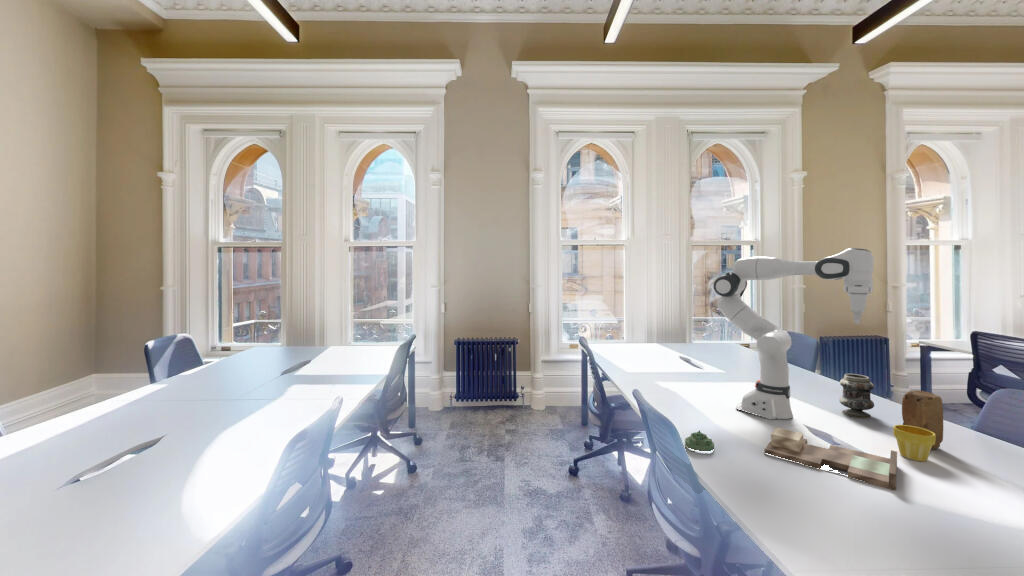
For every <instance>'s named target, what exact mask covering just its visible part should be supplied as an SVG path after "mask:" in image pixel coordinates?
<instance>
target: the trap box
mask: <svg viewBox="0 0 1024 576" xmlns="http://www.w3.org/2000/svg"><path fill="white" fill-rule="evenodd" d="M765 453H768V454H771V455H774V456H778V457H781V458H785V459H788V460H792V461H795V462H799V463H802V464H804V465H803V466H805V465H808V466H812V467H815V468H819V469H820V468H821V466H823V465H824V464H825V465H829V467H830V468H832V469H833V470H838V472H840V473H841V474H845V475H848V477H851V478H850V479H852V478H855V479H858V480H857V481H859V480H862V481H861V482H863V481H865V482H864V483H866V482H867V484H870V483H871V484H870V485H873V484H874V486H876V487H877V486H878V487H881V488H884V487H885V488H884V489H888V490H892V491H896V490H897V473H898V471H897V470H898V451H895V450H890V456H889V457H890V458H889V457H884V456H881V455H877V454H871V453H867V452H863V451H859V450H854V449H852V448H851V449H850V448H846V447H842V446H837V445H834V444H830V446H829V448H826V447H822V446H819V445H813V444H811V443H810V444H809V443H808V439H807V438H804V437H803V445H802V447H801V449H800V451H795V450H791V449H787V448H783V447H779V446H775V445H771V440H770V442H769V443H768V444H767V445H766V447H765V448H764V454H765ZM808 466H807V467H808ZM812 467H811V468H812ZM815 468H814V469H815ZM819 469H818V470H819ZM833 470H829V471H833ZM840 473H838V474H840ZM848 477H847V478H848ZM855 479H854V480H855Z"/></svg>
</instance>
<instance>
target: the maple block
mask: <svg viewBox="0 0 1024 576" xmlns="http://www.w3.org/2000/svg"><path fill="white" fill-rule="evenodd" d="M803 438H804V433H803V432H799V431H795V430H790V429H787V428H786V429H785V428H781V427H775V428H774V430H773V431H772V432H771V433H770V441H771V445H775V446H779V447H783V448H787V449H791V450H795V451H800V449H801V447H802V445H803Z"/></svg>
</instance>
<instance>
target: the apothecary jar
mask: <svg viewBox="0 0 1024 576" xmlns="http://www.w3.org/2000/svg"><path fill="white" fill-rule="evenodd" d="M839 384H840V386H842V395H841V396H840V397H839V398H838V401H839V403H840V404H841V405H842V406H843V407H846V408H847V409H843V410H842V411H841V412H842V414H844V415H847V416H850V417H854V418H859V419H869V418H872V415H871V414H870V413H869V412H866V411H867V410H868V411H870V410H872V409H874V407H875V403H874V401H873V400H872V399H871V391H873V390H874V387H875V385H874V384H873V383H872V382H871V381H870V377H869V376H867V375H862V374H856V373H845V374H844V377H843V378H841V379H840V381H839Z"/></svg>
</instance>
